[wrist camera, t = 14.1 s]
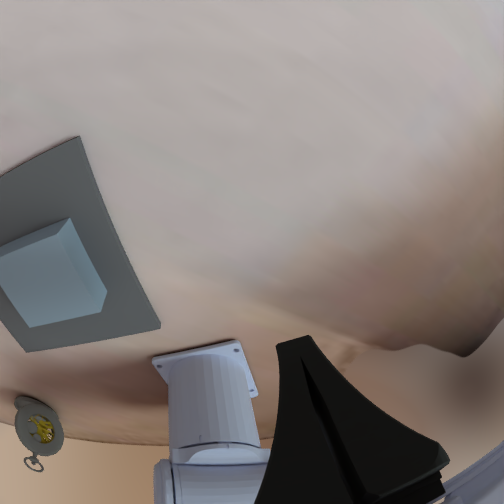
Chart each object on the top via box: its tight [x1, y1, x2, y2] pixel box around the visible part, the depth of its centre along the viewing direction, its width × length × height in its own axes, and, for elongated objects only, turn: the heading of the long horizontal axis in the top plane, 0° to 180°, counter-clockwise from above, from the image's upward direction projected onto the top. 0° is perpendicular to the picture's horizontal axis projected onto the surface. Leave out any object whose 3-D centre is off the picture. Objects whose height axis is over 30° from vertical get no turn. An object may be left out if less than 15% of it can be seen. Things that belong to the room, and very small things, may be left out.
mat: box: [0, 136, 161, 353], centre depth 18 cm, size 15×15×1 cm
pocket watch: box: [14, 397, 64, 472], centre depth 23 cm, size 8×8×10 cm
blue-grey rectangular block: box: [0, 218, 107, 328], centre depth 17 cm, size 6×2×7 cm
